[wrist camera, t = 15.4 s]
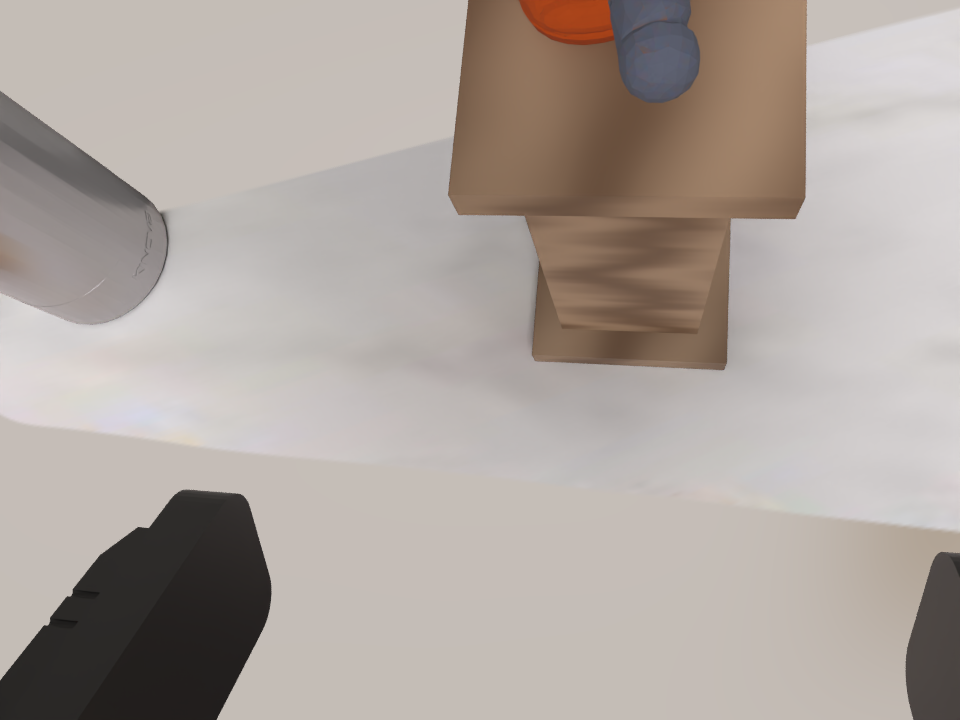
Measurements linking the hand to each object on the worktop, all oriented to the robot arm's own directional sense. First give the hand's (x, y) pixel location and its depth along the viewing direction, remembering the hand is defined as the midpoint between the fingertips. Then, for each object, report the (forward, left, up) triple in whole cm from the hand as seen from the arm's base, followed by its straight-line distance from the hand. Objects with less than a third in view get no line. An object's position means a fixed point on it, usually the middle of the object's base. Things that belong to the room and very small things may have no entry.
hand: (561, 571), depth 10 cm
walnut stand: (0, +16, -34) cm, 37 cm away
